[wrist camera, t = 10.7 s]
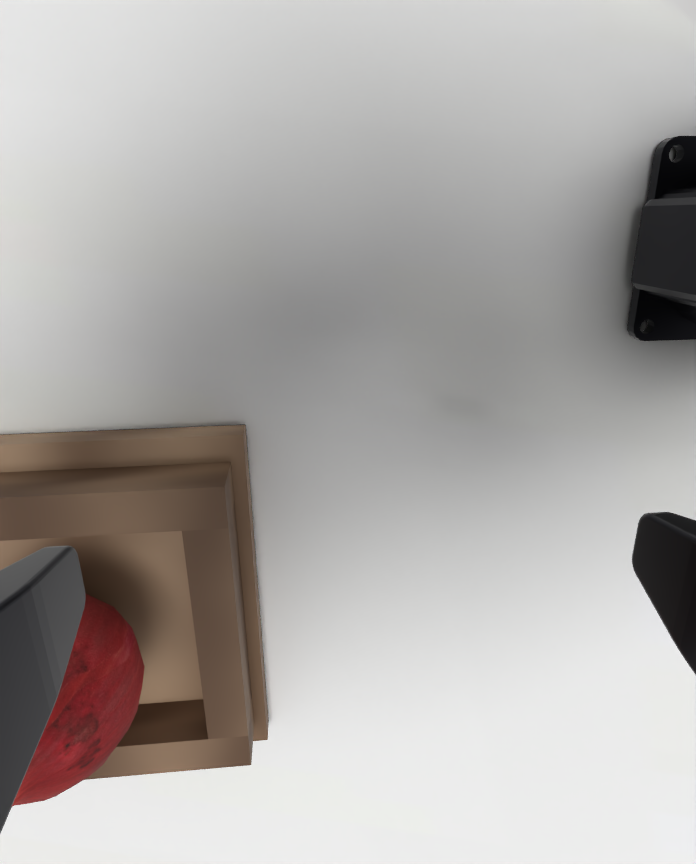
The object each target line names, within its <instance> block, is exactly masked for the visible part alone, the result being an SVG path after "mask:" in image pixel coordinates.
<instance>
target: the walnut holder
mask: <svg viewBox="0 0 696 864" xmlns="http://www.w3.org/2000/svg"><path fill="white" fill-rule="evenodd" d="M50 546H72V547H73V548H75V550H76V552H77V554H78V558H79V563H80V568H81V573H82V578H83V583H84V588H85V593H86V594H88V595H90V596H92V597H94V598H96V599H98V600H100V601H103V602H105V603H107V604H109V605H111V606H113V607H115V609H116V610H117V611H118V612H119V613H120V614H121V616H122V617H123V618H124V619H125V620H126V621H127V623H128V624H129V625H130V626H131V627H132V629H133V632H134V634H135V637H136V640H137V643H138V646H139V650H140V653H141V656H142V660H143V663H144V666H145V668H144V676H143V685H142V690H141V695H140V700H139V705H138V710H137V712H136V715H135V717H134V719H133V721H132V723H131V725H130V727H129V730H128V731H127V732H126V734H125V735H124V736H123V738H122V739H121V741H120V742H119V743H118V745H117V746H116V748H115V749H114V750H113V752H112V753H111V754H110V756H109V757H108V759H107V760H106V761H105V763H104V764H103V765H102V766H101V767H100V768H99V769H97V770H96V771H95V772H94V773H93V774H92V775H91V776H89V777H87V778H86V779H97V778H108V777H119V776H131V775H142V774H154V773H165V772H176V771H188V770H199V769H210V768H222V767H233V766H244V765H251V759H252V745H253V741H259V740H268V709H267V696H266V683H265V671H264V658H263V645H262V632H261V619H260V606H259V594H258V581H257V568H256V555H255V542H254V529H253V516H252V504H251V491H250V478H249V465H248V452H247V439H246V426H245V425H228V426H204V427H179V428H154V429H130V430H105V431H81V432H56V433H31V434H7V435H0V570H2V569H4V568H5V567H7V566H9V565H11V564H13V563H15V562H17V561H19V560H21V559H23V558H25V557H27V556H28V555H30V554H32V553H34V552H36V551H38V550H40V549H42V548H44V547H50ZM84 780H85V779H84Z"/></svg>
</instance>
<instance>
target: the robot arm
mask: <svg viewBox="0 0 696 864" xmlns="http://www.w3.org/2000/svg"><path fill="white" fill-rule="evenodd" d="M672 147H674V148H675V149H676V152H677V155H676V158H675V160H674V161H673V162H672V161H671V160H670V159H669V152H670V150H671V148H672ZM631 281H632V283H633V285H634V287H633V293H632V300H631V306H630V312H629V319H628V325H627V326H628V332H629V334H630V335H631V336H632V337H633V338H636V339H639V340H643V341H658V340H690V339H696V136H678V137H673V138H668V139H665V140H664V141H662V142H661V143H660V144H659V146H658V147H657V148H656V151H655V154H654V160H653V167H652V173H651V179H650V186H649V192H648V198H647V203H646V205H645V206H644V207H643V209H642V215H641V222H640V228H639V235H638V241H637V247H636V254H635V260H634V267H633V273H632V280H631ZM645 320H647V321H648V325H647V328H646V329H645V330H644V331H641V330H640V326H641V324H642V323H643V322H644V321H645ZM632 564H633V568H634V571H635V573H636V575H637V577H638V579H639V581H640V582H641V584H642V586H643V588H644V589H645V591H646V593H647V595H648V597H649V598H650V600H651V602H652V604H653V606H654V607H655V609H656V611H657V613H658V614H659V616H660V618H661V620H662V622H663V623H664V625H665V627H666V629H667V630H668V632H669V634H670V636H671V638H672V639H673V641H674V643H675V644H676V646H677V648H678V649H679V651H680V652H681V654H682V655H683V657H684V658H685V660H686V661H687V663H688V664H689V666H690V667H691V669H692V670H693V672H694V673H695V674H696V521H695V520H692V519H689V518H686V517H683V516H680V515H677V514H674V513H670V512H658V513H647V514H644V515H643V516H642V517H641V518H640V520H639V523H638V528H637V533H636V539H635V544H634V550H633V555H632ZM85 599H86V595H85V588H84V583H83V578H82V573H81V568H80V563H79V558H78V554H77V552H76V550H75V548H73V547H72V546H50V547H44V548H42V549H40V550H38V551H36V552H34V553H32V554H30V555H28V556H27V557H25V558H23V559H21V560H19V561H17V562H15V563H13V564H11V565H9V566H7V567H5V568H4V569H2V570H0V833H1V831H2V828H3V826H4V824H5V821H6V819H7V817H8V814H9V812H10V810H11V807H12V805H13V802H14V800H15V798H16V795H17V793H18V791H19V788H20V786H21V784H22V781H23V779H24V777H25V774H26V772H27V769H28V767H29V765H30V762H31V760H32V758H33V755H34V753H35V751H36V748H37V746H38V743H39V741H40V739H41V736H42V734H43V732H44V729H45V727H46V725H47V722H48V720H49V718H50V715H51V713H52V710H53V708H54V705H55V703H56V700H57V697H58V694H59V691H60V688H61V685H62V682H63V679H64V675H65V672H66V668H67V665H68V662H69V658H70V655H71V651H72V648H73V645H74V641H75V638H76V635H77V631H78V628H79V624H80V621H81V618H82V614H83V611H84V607H85Z"/></svg>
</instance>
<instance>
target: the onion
mask: <svg viewBox="0 0 696 864" xmlns="http://www.w3.org/2000/svg"><path fill="white" fill-rule="evenodd" d="M85 595H86V599H85V607H84V611H83V614H82V618H81V621H80V624H79V628H78V631H77V635H76V638H75V641H74V645H73V648H72V651H71V655H70V658H69V662H68V665H67V668H66V672H65V675H64V679H63V682H62V685H61V688H60V691H59V694H58V697H57V700H56V703H55V705H54V708H53V710H52V713H51V715H50V718H49V720H48V722H47V725H46V727H45V729H44V732H43V734H42V736H41V739H40V741H39V743H38V746H37V748H36V751H35V753H34V755H33V758H32V760H31V762H30V765H29V767H28V769H27V772H26V774H25V777H24V779H23V781H22V784H21V786H20V788H19V791H18V793H17V795H16V798H15V800H14V802H13V805H12V806H14V805H21V804H27V803H32V802H38V801H44V800H47V799H49V798H52V797H55V796H57V795H58V794H60V793H62V792H64V791H65V790H67V789H69V788H71V787H72V786H74V785H76V784H77V783H79V782H81V781H82V780H84V779H86V778H87V777H89V776H91V775H92V774H93V773H94V772H95V771H96V770H97V769H99V768H100V767H101V766H102V765H103V764H104V763H105V761H106V760H107V759H108V757H109V756H110V754H111V753H112V752H113V750H114V749H115V748H116V746H117V745H118V743H119V742H120V741H121V739H122V738H123V736H124V735H125V734H126V732H127V731H128V730H129V727H130V725H131V723H132V721H133V719H134V717H135V715H136V712H137V710H138V705H139V700H140V695H141V690H142V685H143V676H144V668H145V666H144V663H143V660H142V656H141V653H140V650H139V646H138V643H137V640H136V637H135V634H134V632H133V629H132V627H131V626H130V625H129V624H128V623H127V621H126V620H125V619H124V618H123V617H122V616H121V614H120V613H119V612H118V611H117V610H116V609H115V607H113V606H111V605H109V604H107V603H105V602H103V601H100V600H98V599H96V598H94V597H92V596H90V595H88V594H86V593H85Z"/></svg>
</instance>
